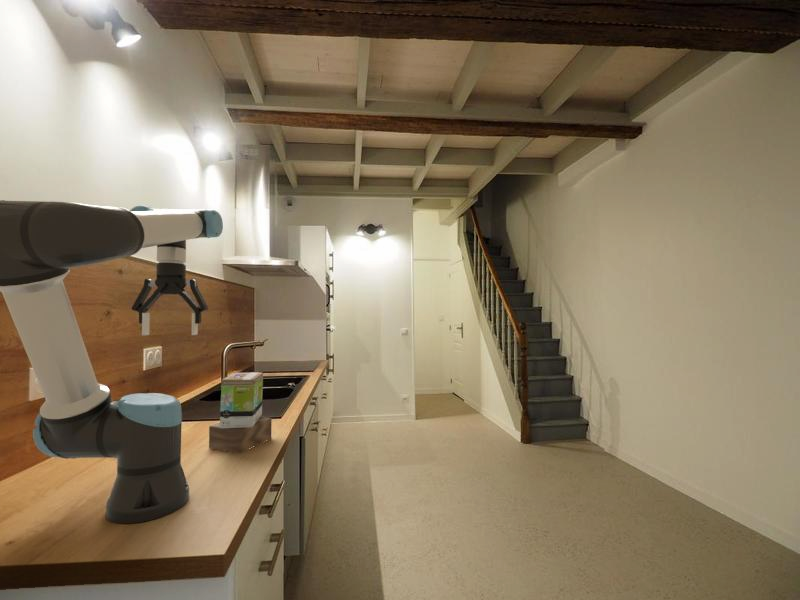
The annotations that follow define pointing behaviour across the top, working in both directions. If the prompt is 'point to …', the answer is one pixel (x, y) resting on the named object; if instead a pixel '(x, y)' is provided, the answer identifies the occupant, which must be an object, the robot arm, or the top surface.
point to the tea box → (241, 400)
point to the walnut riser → (239, 436)
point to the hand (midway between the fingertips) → (170, 335)
